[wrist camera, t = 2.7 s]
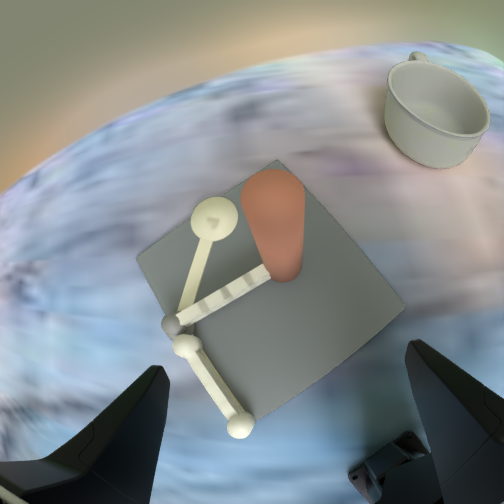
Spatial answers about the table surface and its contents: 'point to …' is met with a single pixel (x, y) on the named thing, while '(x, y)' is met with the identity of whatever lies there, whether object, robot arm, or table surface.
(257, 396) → the board
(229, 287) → the brown cylinder with stick
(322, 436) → the table surface
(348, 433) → the table surface
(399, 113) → the teacup
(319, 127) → the table surface
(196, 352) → the cream dumbbell
